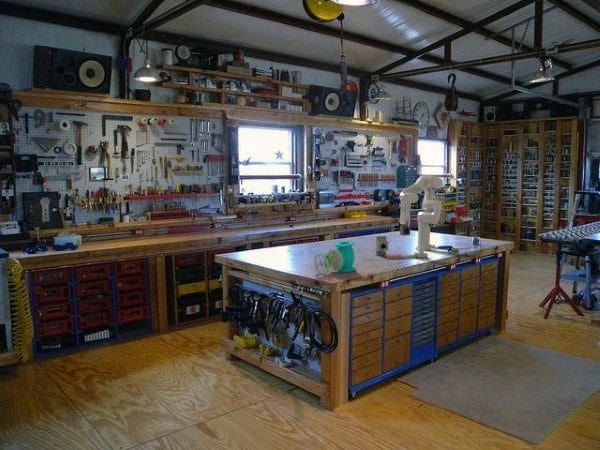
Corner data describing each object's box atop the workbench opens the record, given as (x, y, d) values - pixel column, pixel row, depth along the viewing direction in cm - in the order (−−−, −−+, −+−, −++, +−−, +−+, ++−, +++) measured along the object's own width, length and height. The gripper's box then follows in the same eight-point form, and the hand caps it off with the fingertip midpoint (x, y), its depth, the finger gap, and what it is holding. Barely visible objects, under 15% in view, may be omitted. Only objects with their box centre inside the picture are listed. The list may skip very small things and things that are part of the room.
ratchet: (424, 256, 385) (424, 247, 384) (429, 258, 375) (430, 249, 374) (383, 257, 378) (383, 248, 378) (388, 259, 369) (388, 250, 368)
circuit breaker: (379, 256, 382) (379, 237, 380) (373, 253, 396) (373, 234, 394) (388, 256, 383) (389, 237, 382) (382, 253, 397) (382, 234, 396)
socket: (406, 234, 392) (407, 225, 391) (410, 235, 386) (410, 226, 385) (399, 234, 391) (399, 225, 390) (402, 235, 385) (402, 226, 384)
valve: (358, 242, 326) (324, 253, 308) (360, 268, 330) (326, 280, 312) (343, 239, 337) (309, 249, 319) (345, 265, 341) (312, 276, 323)
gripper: (396, 208, 394) (396, 231, 396) (405, 210, 377) (404, 234, 379) (405, 208, 395) (405, 231, 397) (414, 210, 378) (414, 234, 380)
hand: (404, 232), depth 388 cm, fingers closed on socket, 6 cm apart
